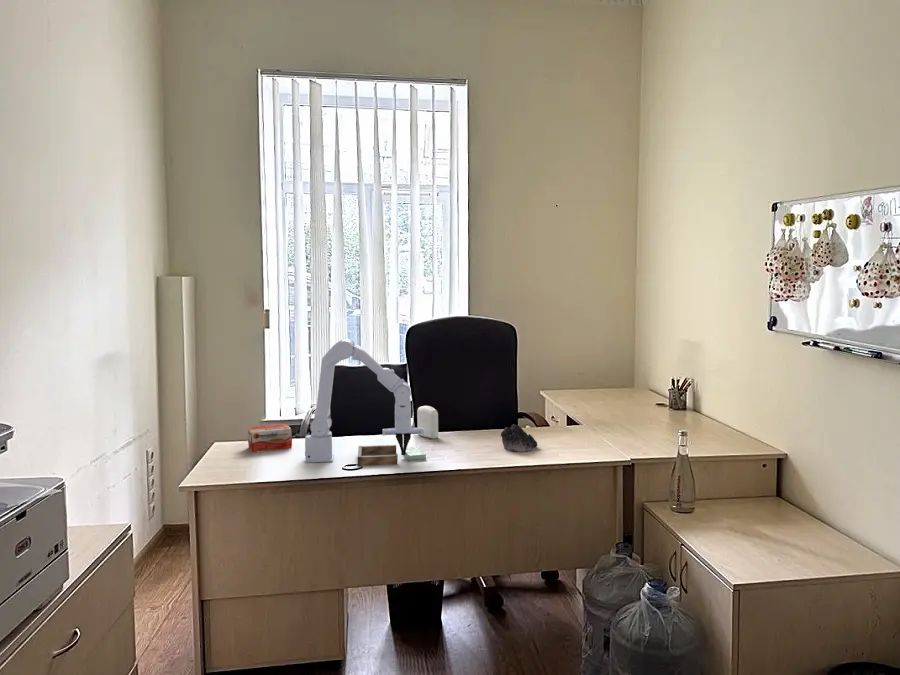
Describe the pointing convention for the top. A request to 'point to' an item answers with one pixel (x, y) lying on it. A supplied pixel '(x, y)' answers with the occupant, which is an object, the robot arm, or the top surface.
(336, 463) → the top surface
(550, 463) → the top surface
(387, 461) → the walnut box
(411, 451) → the cover plate
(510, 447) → the crystal cluster
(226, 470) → the top surface
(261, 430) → the medicine box
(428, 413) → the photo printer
